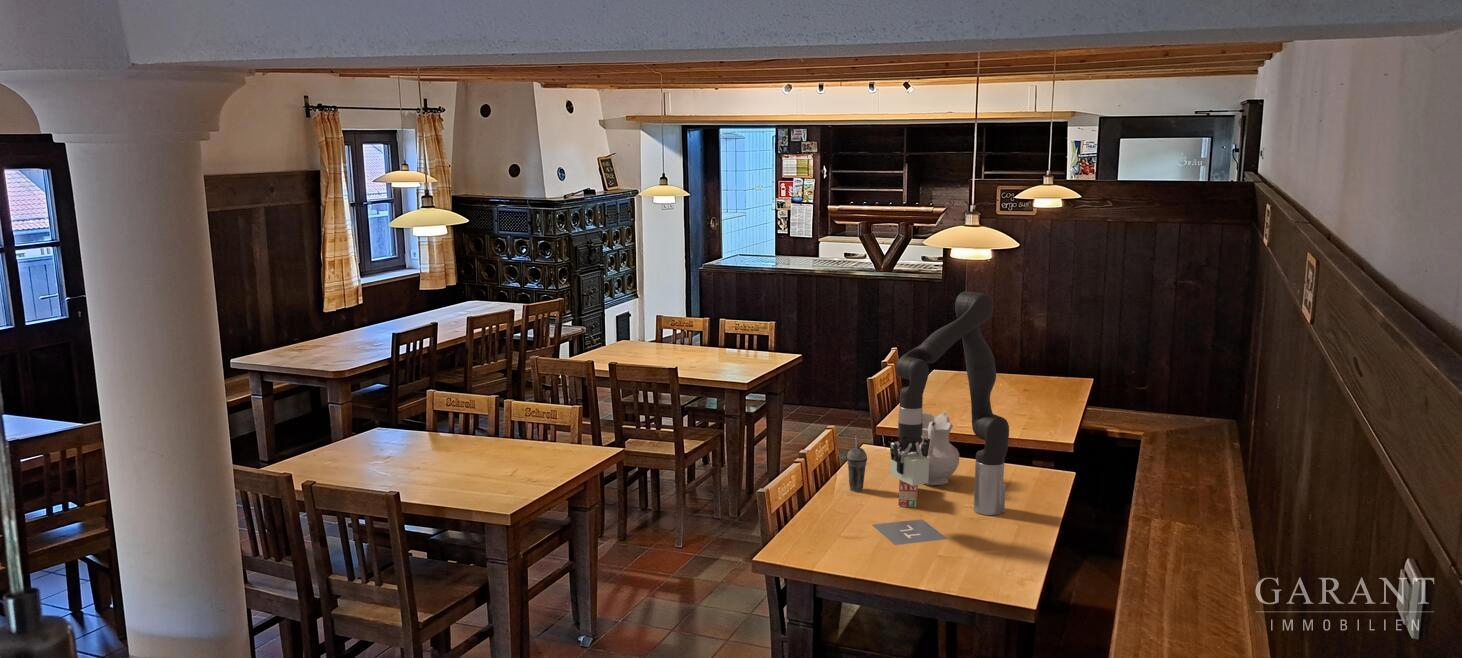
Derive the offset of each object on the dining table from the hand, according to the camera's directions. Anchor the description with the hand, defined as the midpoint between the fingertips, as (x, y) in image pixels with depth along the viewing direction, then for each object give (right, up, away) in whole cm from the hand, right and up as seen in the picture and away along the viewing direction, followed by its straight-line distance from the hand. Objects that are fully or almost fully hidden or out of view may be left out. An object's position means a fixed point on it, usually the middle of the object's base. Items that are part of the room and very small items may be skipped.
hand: (909, 471), depth 330 cm
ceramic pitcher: (+17, -11, +51) cm, 55 cm away
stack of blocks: (+5, -14, +34) cm, 37 cm away
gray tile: (0, -19, +2) cm, 19 cm away
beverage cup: (-12, -12, +42) cm, 46 cm away
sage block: (0, -2, 0) cm, 2 cm away
